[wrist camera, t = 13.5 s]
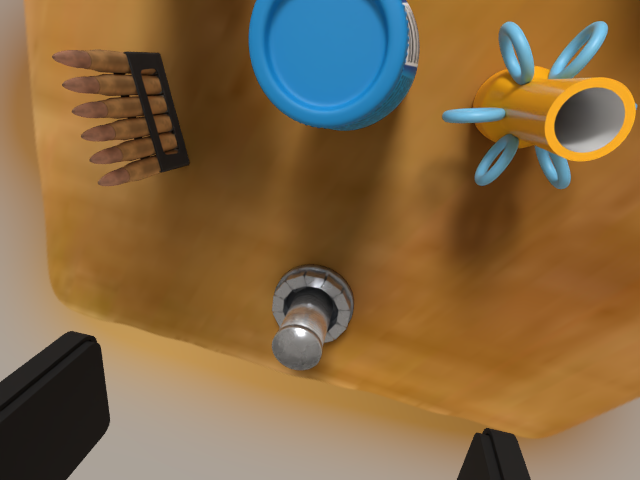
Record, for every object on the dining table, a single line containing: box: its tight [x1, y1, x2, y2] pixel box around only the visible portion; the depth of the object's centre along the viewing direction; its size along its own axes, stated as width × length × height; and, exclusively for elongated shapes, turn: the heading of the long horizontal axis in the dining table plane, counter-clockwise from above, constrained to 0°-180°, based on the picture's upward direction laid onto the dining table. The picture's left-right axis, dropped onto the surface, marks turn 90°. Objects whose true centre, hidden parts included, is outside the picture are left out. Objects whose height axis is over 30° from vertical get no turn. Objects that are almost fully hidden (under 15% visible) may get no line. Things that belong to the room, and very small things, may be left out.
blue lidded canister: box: [249, 0, 419, 131], centre depth 25 cm, size 8×8×20 cm
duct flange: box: [272, 264, 354, 343], centre depth 42 cm, size 9×9×2 cm
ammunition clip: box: [52, 50, 190, 186], centre depth 33 cm, size 11×2×12 cm, turn 9°
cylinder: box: [442, 21, 637, 189], centre depth 26 cm, size 12×10×15 cm
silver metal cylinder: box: [272, 287, 333, 370], centre depth 39 cm, size 5×5×8 cm
